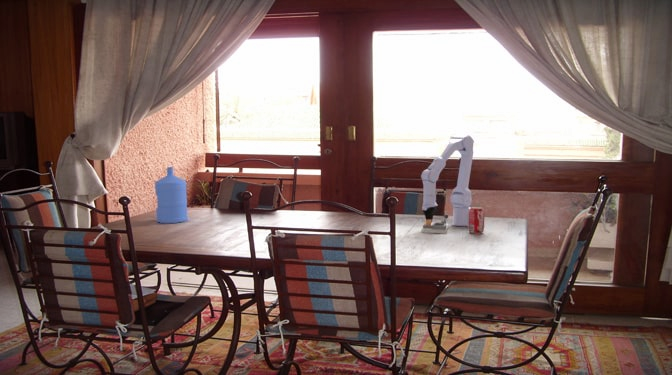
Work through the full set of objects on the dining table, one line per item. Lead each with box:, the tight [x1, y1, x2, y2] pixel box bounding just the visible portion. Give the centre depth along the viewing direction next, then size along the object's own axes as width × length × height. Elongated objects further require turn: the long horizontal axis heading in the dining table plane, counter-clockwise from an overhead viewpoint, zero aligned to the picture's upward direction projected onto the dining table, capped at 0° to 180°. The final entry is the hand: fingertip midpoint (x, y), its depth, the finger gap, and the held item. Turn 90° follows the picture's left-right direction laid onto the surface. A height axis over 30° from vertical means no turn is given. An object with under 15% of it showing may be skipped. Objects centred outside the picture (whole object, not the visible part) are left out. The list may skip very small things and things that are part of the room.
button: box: [435, 221, 444, 226], centre depth 291 cm, size 4×4×2 cm
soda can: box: [467, 205, 485, 235], centre depth 286 cm, size 7×7×12 cm
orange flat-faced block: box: [425, 218, 433, 226], centre depth 294 cm, size 2×3×3 cm
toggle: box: [442, 213, 449, 222], centre depth 299 cm, size 2×2×5 cm
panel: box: [421, 219, 449, 234], centre depth 296 cm, size 11×17×4 cm, turn 166°
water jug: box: [154, 166, 189, 224], centre depth 322 cm, size 16×16×28 cm
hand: (429, 223), depth 297 cm, fingers closed
